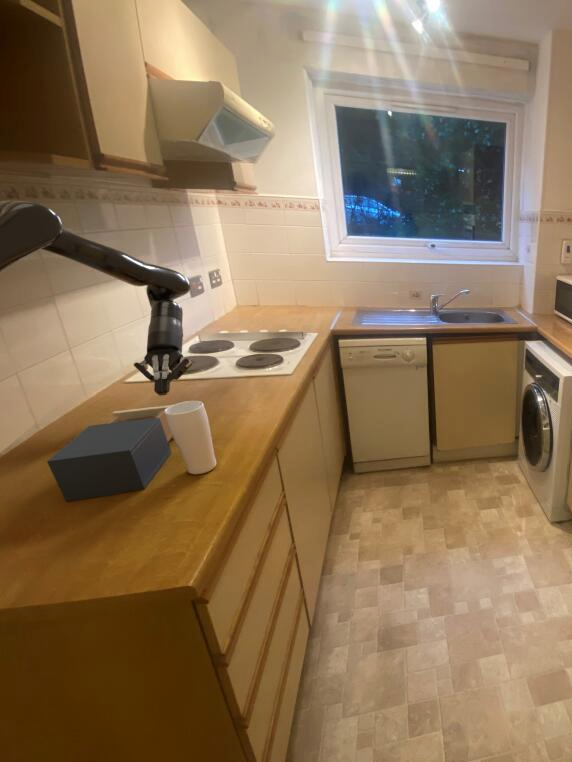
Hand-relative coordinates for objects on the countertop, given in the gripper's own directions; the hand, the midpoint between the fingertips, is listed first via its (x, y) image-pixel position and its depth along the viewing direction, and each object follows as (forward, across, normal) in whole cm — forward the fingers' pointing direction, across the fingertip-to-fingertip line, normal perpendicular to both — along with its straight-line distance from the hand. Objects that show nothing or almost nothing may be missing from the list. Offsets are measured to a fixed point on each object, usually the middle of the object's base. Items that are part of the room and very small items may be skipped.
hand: (161, 394), depth 113 cm
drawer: (+15, 0, -6) cm, 17 cm away
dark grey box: (+24, 0, -14) cm, 28 cm away
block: (+15, 0, -7) cm, 17 cm away
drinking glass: (+26, +15, -15) cm, 34 cm away
